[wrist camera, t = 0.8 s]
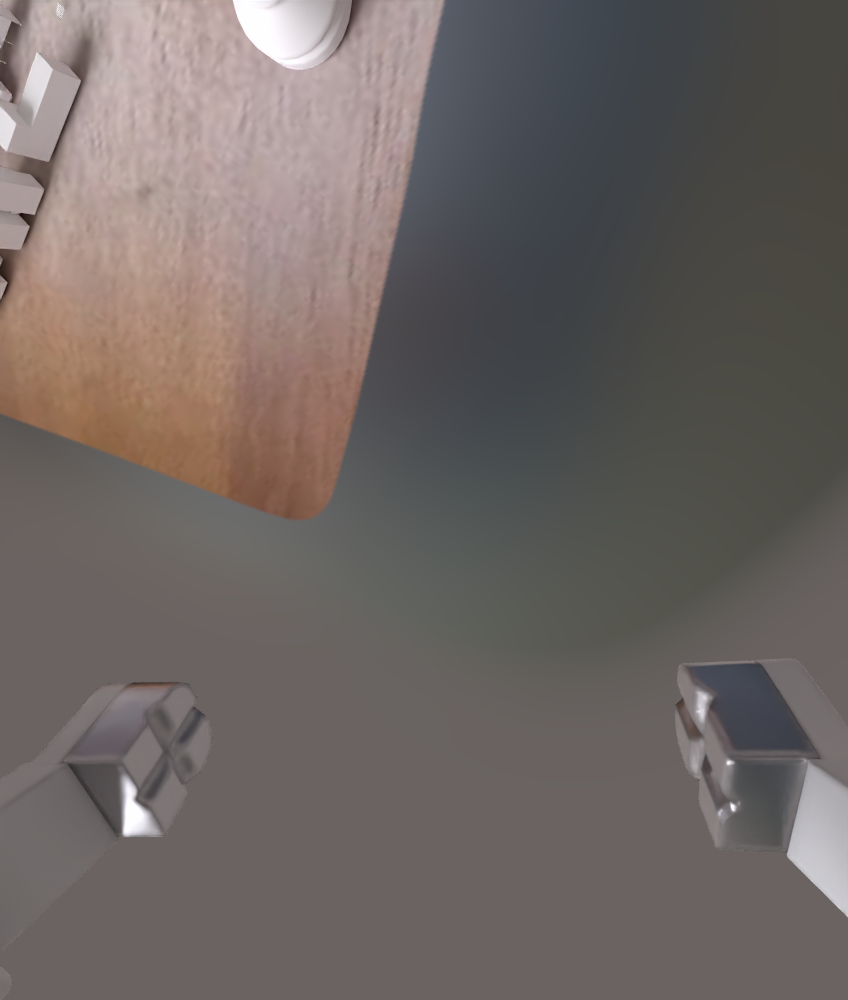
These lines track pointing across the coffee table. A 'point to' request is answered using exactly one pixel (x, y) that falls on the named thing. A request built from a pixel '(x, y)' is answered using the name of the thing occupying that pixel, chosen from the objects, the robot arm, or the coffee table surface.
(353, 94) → the coffee table surface
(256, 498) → the coffee table surface
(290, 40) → the chess pawn
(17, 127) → the modular blocks
